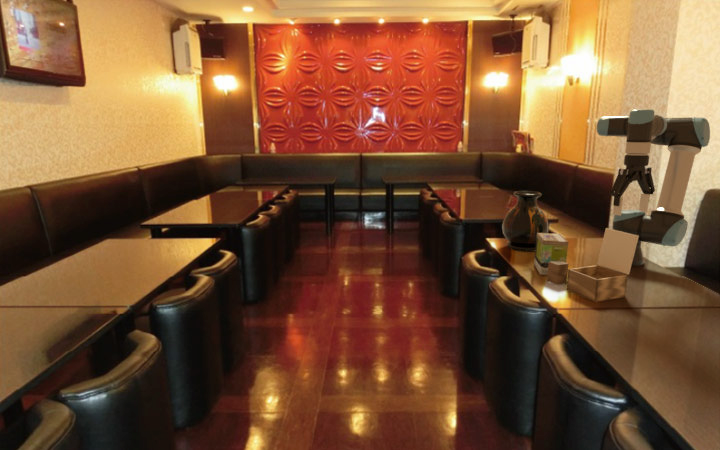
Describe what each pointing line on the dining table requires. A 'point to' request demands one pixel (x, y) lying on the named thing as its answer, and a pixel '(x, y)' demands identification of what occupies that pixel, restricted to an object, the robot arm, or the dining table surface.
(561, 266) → the walnut block
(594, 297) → the crate
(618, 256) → the lid
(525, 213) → the dark glossy vase
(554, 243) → the tea box
